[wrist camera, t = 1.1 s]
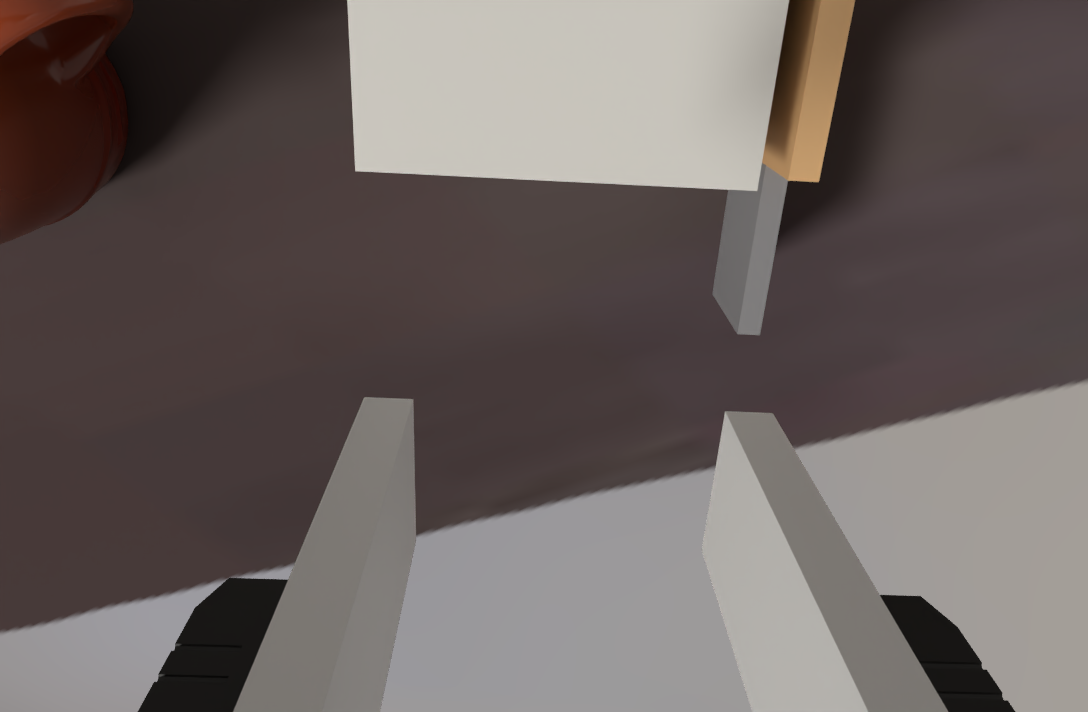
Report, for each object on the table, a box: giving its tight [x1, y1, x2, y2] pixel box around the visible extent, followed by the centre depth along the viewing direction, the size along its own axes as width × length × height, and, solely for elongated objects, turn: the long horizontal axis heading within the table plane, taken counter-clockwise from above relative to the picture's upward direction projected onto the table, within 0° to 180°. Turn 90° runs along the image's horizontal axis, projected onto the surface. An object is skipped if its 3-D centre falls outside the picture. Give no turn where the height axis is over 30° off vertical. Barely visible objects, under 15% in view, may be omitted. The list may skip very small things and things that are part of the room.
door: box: [713, 0, 855, 335], centre depth 22 cm, size 1×16×8 cm, turn 177°
